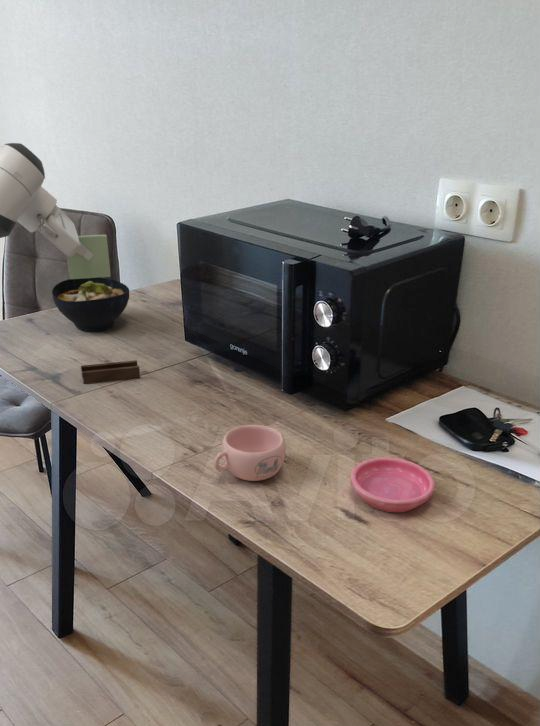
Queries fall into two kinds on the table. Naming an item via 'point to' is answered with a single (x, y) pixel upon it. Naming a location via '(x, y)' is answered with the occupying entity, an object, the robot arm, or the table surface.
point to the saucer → (392, 484)
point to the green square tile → (97, 262)
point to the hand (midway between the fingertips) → (90, 255)
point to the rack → (110, 372)
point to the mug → (252, 452)
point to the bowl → (91, 302)
